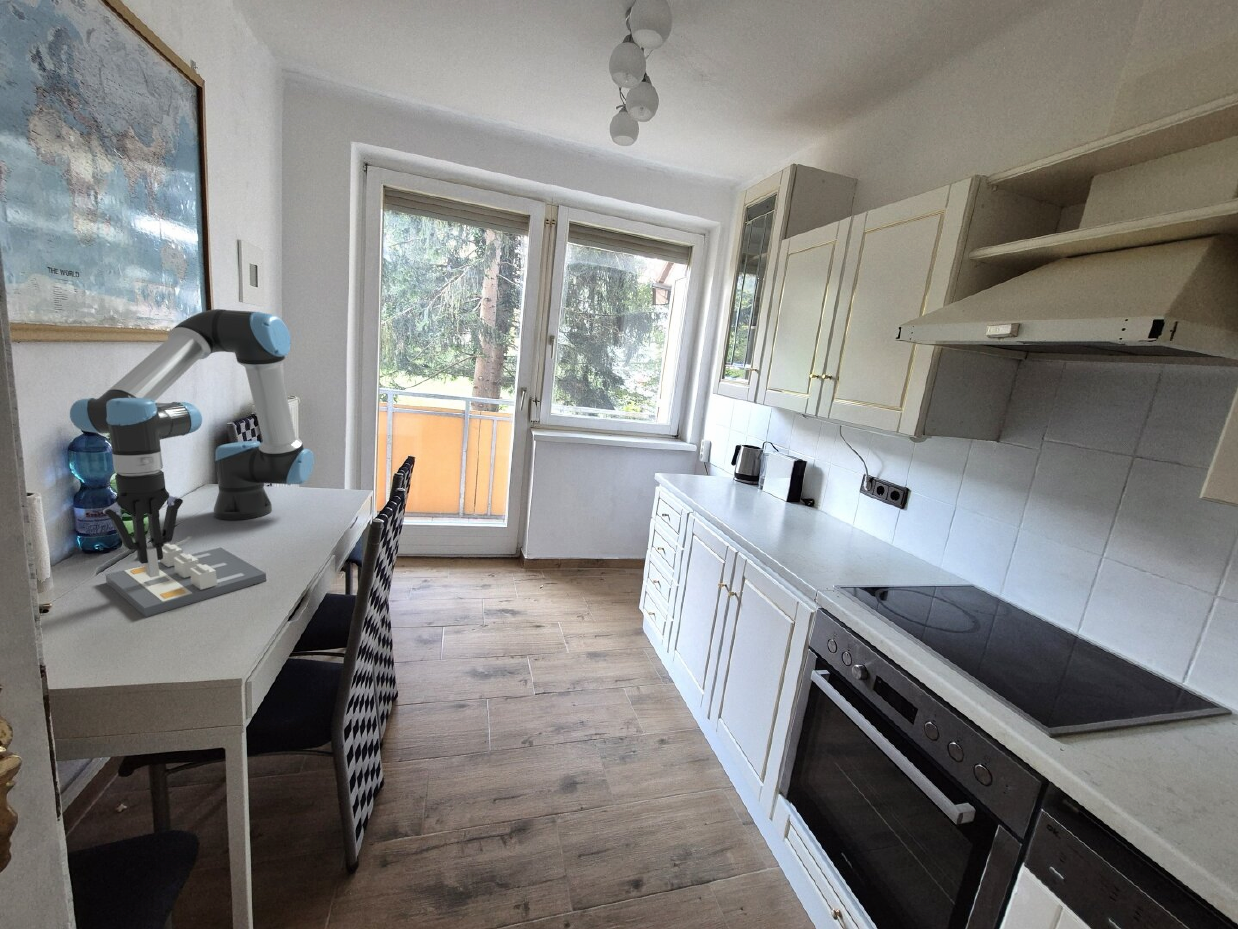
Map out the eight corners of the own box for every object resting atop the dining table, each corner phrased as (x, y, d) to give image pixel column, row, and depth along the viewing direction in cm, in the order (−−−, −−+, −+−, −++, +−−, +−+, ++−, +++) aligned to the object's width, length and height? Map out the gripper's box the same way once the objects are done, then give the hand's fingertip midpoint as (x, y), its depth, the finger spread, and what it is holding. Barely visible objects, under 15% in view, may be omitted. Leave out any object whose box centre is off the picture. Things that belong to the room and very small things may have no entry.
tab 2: (191, 567, 120) (189, 551, 119) (200, 573, 117) (198, 557, 116) (175, 571, 117) (173, 555, 116) (183, 577, 115) (182, 561, 114)
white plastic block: (207, 578, 115) (205, 561, 114) (217, 585, 113) (215, 568, 112) (191, 583, 113) (189, 566, 112) (200, 589, 110) (199, 572, 109)
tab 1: (175, 557, 124) (173, 541, 123) (183, 563, 122) (182, 547, 121) (159, 561, 122) (157, 545, 121) (167, 567, 119) (166, 550, 118)
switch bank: (221, 554, 133) (220, 546, 133) (266, 581, 121) (265, 572, 120) (106, 582, 115) (105, 573, 114) (145, 617, 102) (144, 607, 102)
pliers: (191, 533, 142) (171, 553, 129) (192, 538, 143) (172, 559, 129) (146, 535, 138) (120, 556, 125) (146, 541, 138) (121, 562, 125)
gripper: (102, 480, 100) (118, 590, 105) (185, 470, 110) (196, 570, 115) (90, 473, 103) (106, 579, 108) (171, 464, 114) (182, 561, 119)
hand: (153, 574), depth 112 cm, fingers closed
